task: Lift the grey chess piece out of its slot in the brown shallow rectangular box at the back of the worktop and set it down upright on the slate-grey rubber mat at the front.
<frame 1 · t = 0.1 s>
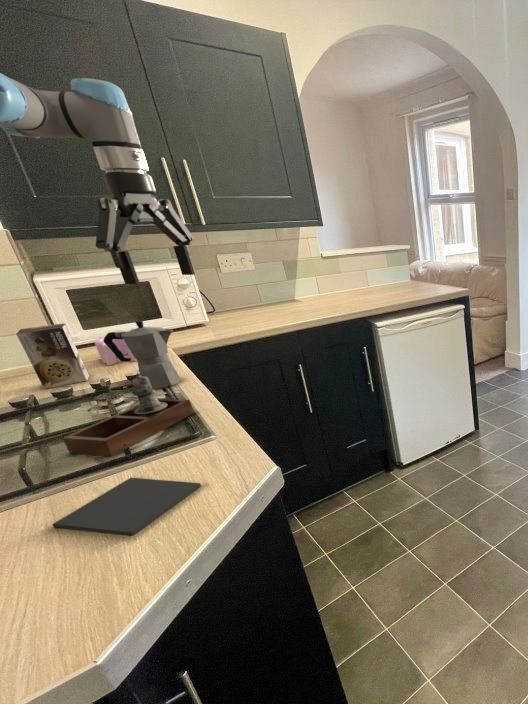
hand: (162, 279, 93), 30 cm above the worktop, tool pointing down, fingers open, 13 cm apart
cookie mix box: (67, 382, 121), on the worktop
brown shallow rectangular box: (137, 431, 91), on the worktop
grey chess piece: (156, 422, 95), resting in brown shallow rectangular box
coffeepot: (157, 384, 117), on the worktop
mat: (132, 505, 67), on the worktop
clip: (128, 355, 144), on the worktop
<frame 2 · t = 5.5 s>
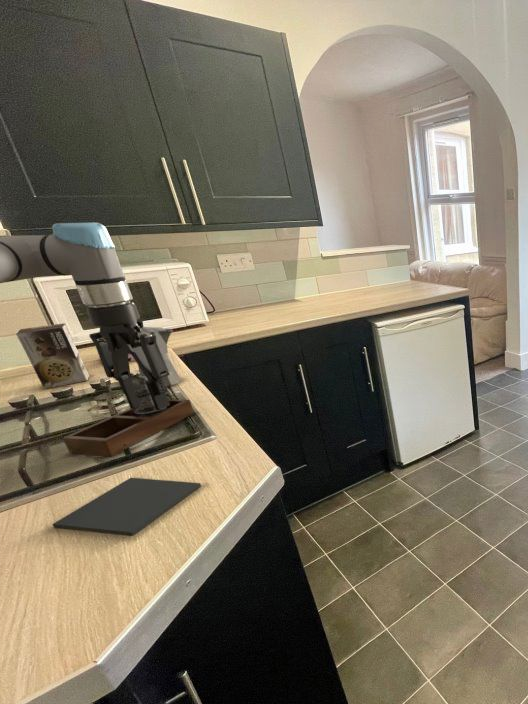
hand: (150, 406, 94), 4 cm above the worktop, tool pointing down, fingers closed on grey chess piece, 6 cm apart
grey chess piece: (156, 422, 95), resting in brown shallow rectangular box, touching gripper
everything else where it was.
when the fingers open (4 cm above the worktop, at t = 13.6 s): grey chess piece stays where it is, resting on mat.
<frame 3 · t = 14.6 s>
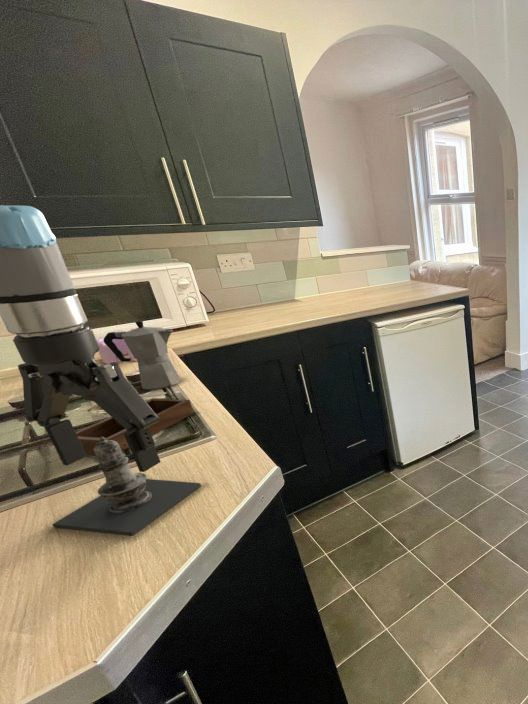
hand: (112, 463, 64), 8 cm above the worktop, tool pointing down, fingers open, 13 cm apart
grey chess piece: (131, 503, 67), resting on mat
everything else where it was.
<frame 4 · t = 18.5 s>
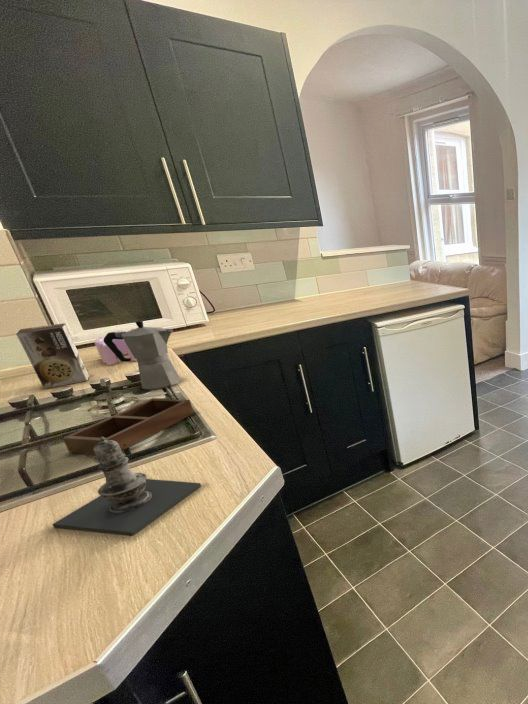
nothing on the worktop moved.
at the end: grey chess piece inside the target area on the mat (0.0 cm from its centre), point 0.4 cm above the mat's base; grey chess piece tilted 0°; grey chess piece touching mat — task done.
